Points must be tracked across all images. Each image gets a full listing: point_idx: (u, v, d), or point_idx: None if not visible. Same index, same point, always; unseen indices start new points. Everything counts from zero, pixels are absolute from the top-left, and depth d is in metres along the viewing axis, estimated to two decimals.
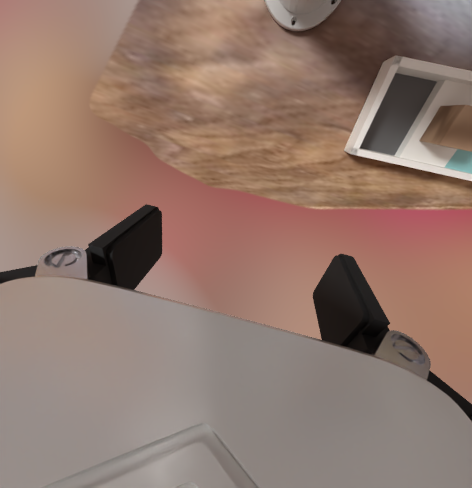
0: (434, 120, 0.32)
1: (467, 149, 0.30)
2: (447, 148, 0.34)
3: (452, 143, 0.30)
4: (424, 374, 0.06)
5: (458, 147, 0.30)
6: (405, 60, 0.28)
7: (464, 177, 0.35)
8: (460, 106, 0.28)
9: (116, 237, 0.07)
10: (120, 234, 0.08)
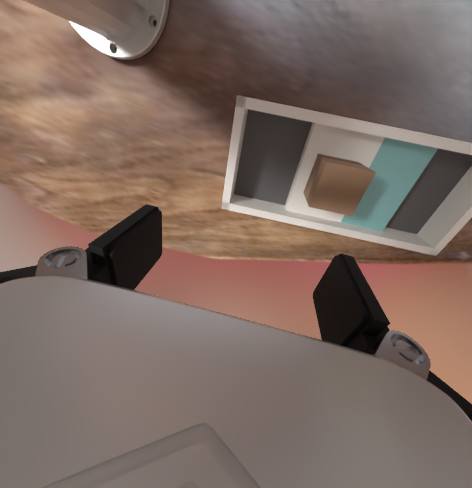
0: (312, 171, 0.25)
1: (345, 213, 0.23)
2: None
3: (324, 206, 0.23)
4: (424, 374, 0.06)
5: (333, 210, 0.23)
6: (250, 101, 0.21)
7: (361, 237, 0.28)
8: (324, 162, 0.21)
9: (116, 237, 0.07)
10: (120, 234, 0.08)
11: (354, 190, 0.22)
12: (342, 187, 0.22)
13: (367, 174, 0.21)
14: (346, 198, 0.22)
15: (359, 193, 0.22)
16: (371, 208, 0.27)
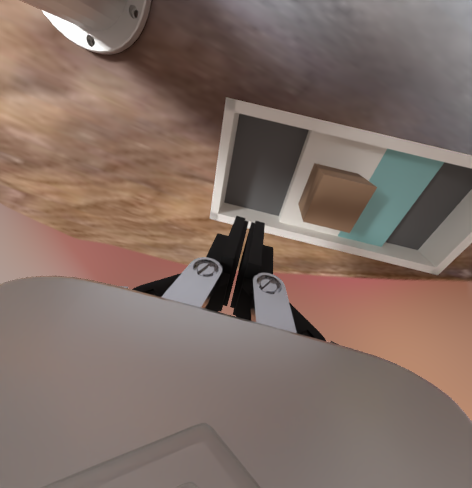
0: (308, 181, 0.23)
1: (342, 230, 0.21)
2: None
3: (320, 221, 0.21)
4: (285, 296, 0.07)
5: (329, 226, 0.21)
6: (241, 104, 0.19)
7: (358, 253, 0.26)
8: (321, 174, 0.19)
9: (236, 248, 0.08)
10: (237, 245, 0.09)
11: (353, 206, 0.20)
12: (340, 202, 0.20)
13: (367, 189, 0.19)
14: (344, 214, 0.20)
15: (358, 209, 0.20)
16: (370, 223, 0.25)
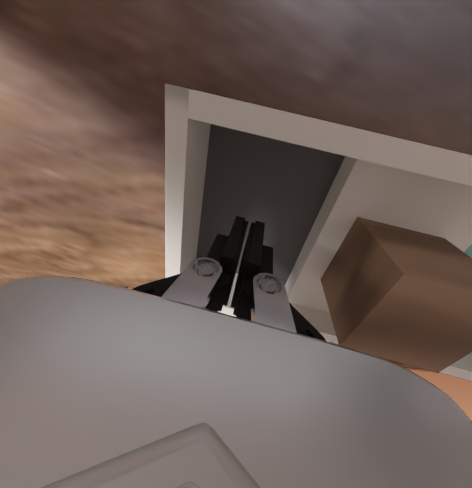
0: (344, 250, 0.12)
1: (423, 366, 0.10)
2: None
3: (376, 350, 0.10)
4: (285, 296, 0.07)
5: (396, 359, 0.10)
6: (201, 101, 0.08)
7: None
8: (391, 265, 0.08)
9: (236, 248, 0.08)
10: (237, 245, 0.09)
11: (462, 334, 0.09)
12: (432, 325, 0.08)
13: None
14: (435, 345, 0.09)
15: None
16: None
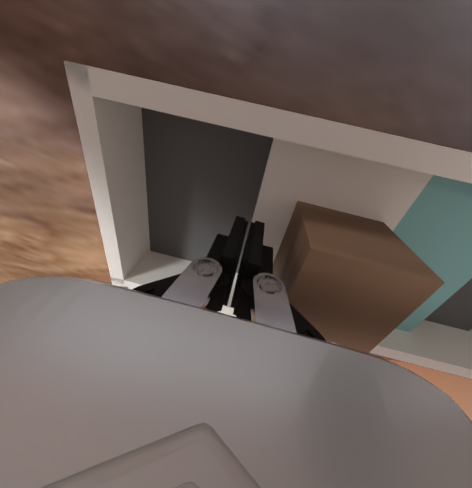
0: (287, 234, 0.12)
1: (353, 346, 0.10)
2: None
3: None
4: (285, 296, 0.07)
5: (327, 339, 0.10)
6: (101, 78, 0.08)
7: (371, 350, 0.15)
8: (306, 242, 0.08)
9: (236, 248, 0.08)
10: (237, 245, 0.09)
11: (380, 312, 0.09)
12: (350, 302, 0.09)
13: (419, 285, 0.08)
14: (358, 324, 0.09)
15: (393, 318, 0.09)
16: None
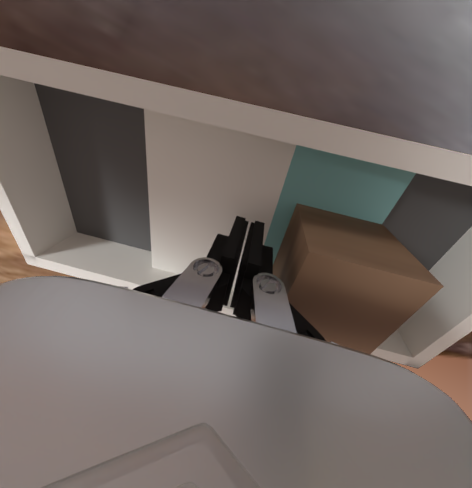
0: (286, 237, 0.12)
1: None
2: None
3: None
4: (285, 296, 0.07)
5: None
6: None
7: None
8: (304, 245, 0.08)
9: (237, 248, 0.08)
10: (237, 245, 0.09)
11: (379, 315, 0.09)
12: (349, 305, 0.09)
13: (418, 289, 0.08)
14: (357, 327, 0.09)
15: (391, 321, 0.09)
16: None
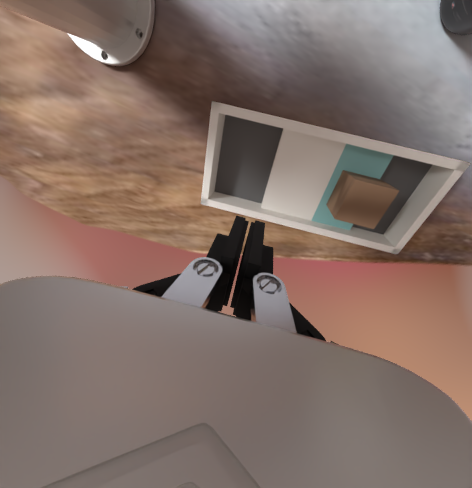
0: (337, 185, 0.27)
1: (367, 226, 0.25)
2: (308, 201, 0.30)
3: (349, 219, 0.25)
4: (285, 297, 0.07)
5: (357, 223, 0.25)
6: (224, 107, 0.24)
7: (328, 234, 0.30)
8: (352, 179, 0.23)
9: (236, 248, 0.08)
10: (237, 245, 0.09)
11: (378, 206, 0.24)
12: (367, 202, 0.24)
13: (391, 192, 0.23)
14: (370, 213, 0.24)
15: (383, 208, 0.24)
16: None
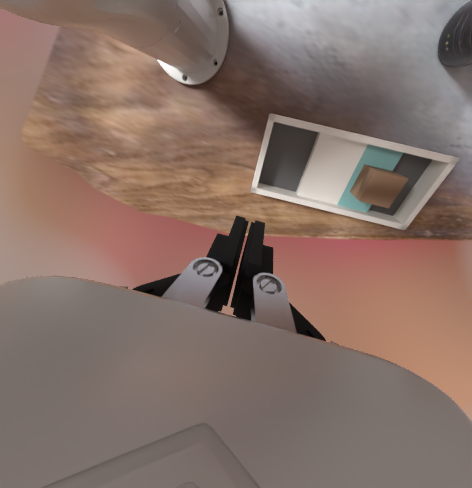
0: (359, 176, 0.36)
1: (384, 206, 0.34)
2: (335, 189, 0.38)
3: (370, 200, 0.33)
4: (285, 297, 0.07)
5: (376, 204, 0.34)
6: (278, 117, 0.32)
7: (351, 215, 0.38)
8: (373, 170, 0.32)
9: (236, 248, 0.08)
10: (237, 245, 0.09)
11: (392, 190, 0.32)
12: (384, 187, 0.32)
13: (402, 180, 0.31)
14: (386, 196, 0.33)
15: (396, 192, 0.32)
16: None
